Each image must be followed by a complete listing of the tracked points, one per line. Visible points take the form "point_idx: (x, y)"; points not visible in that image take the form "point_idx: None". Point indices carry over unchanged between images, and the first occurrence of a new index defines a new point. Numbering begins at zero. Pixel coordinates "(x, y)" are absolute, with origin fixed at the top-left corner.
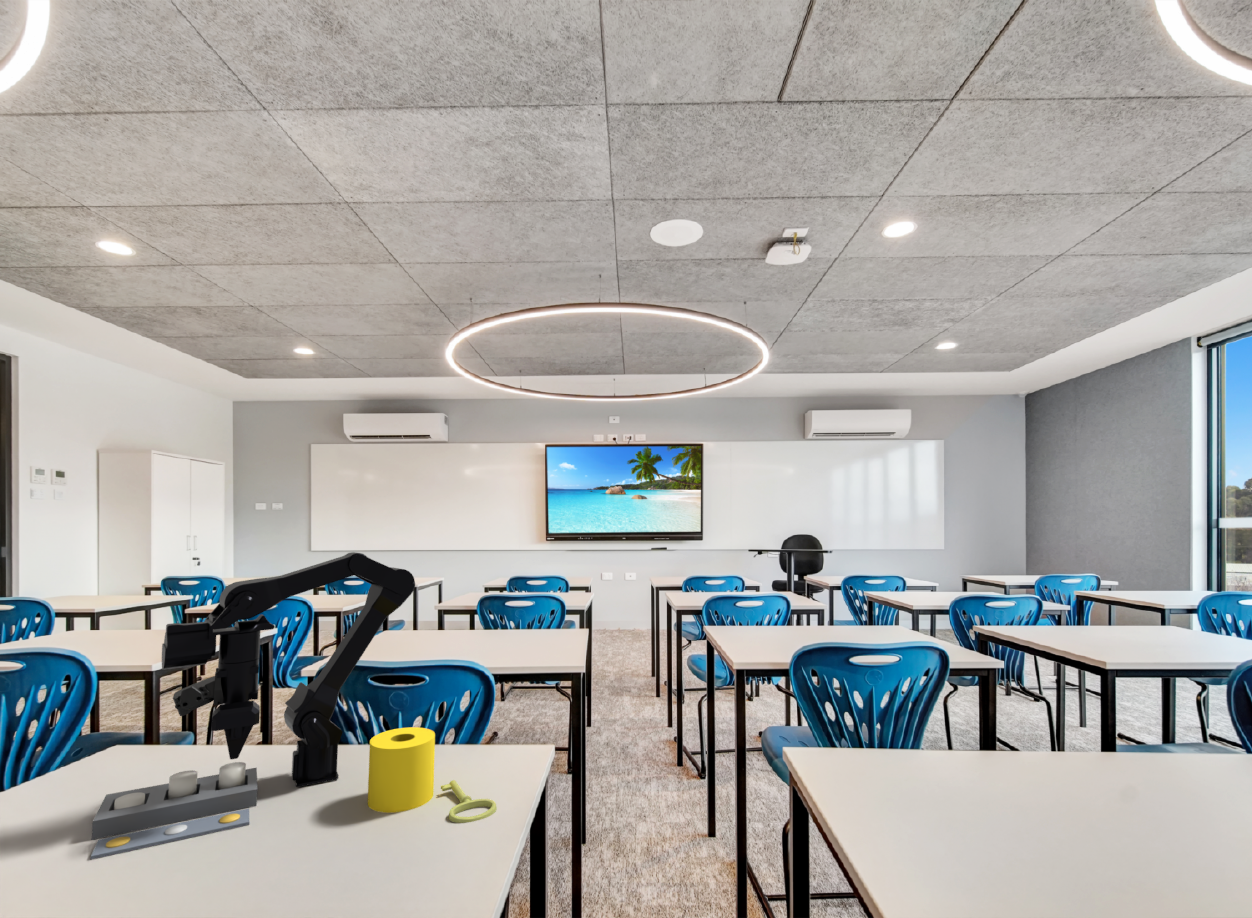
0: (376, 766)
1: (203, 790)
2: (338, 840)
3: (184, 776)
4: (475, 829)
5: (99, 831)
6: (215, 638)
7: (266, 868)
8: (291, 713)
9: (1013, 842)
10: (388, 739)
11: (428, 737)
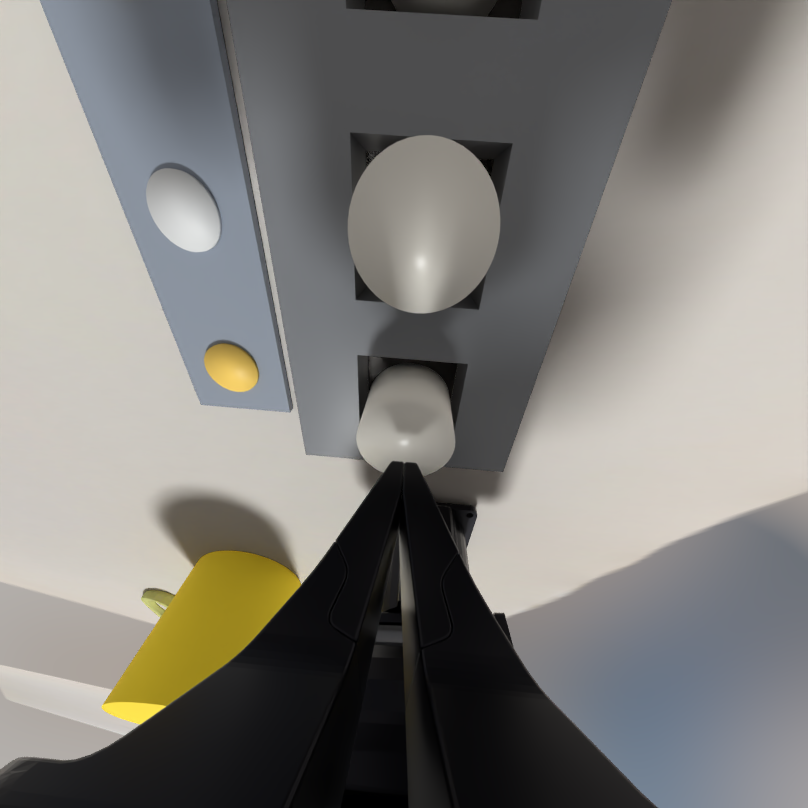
0: (153, 644)
1: (385, 318)
2: (102, 502)
3: (391, 242)
4: (122, 596)
5: None
6: None
7: None
8: (399, 778)
9: (73, 701)
10: None
11: None
